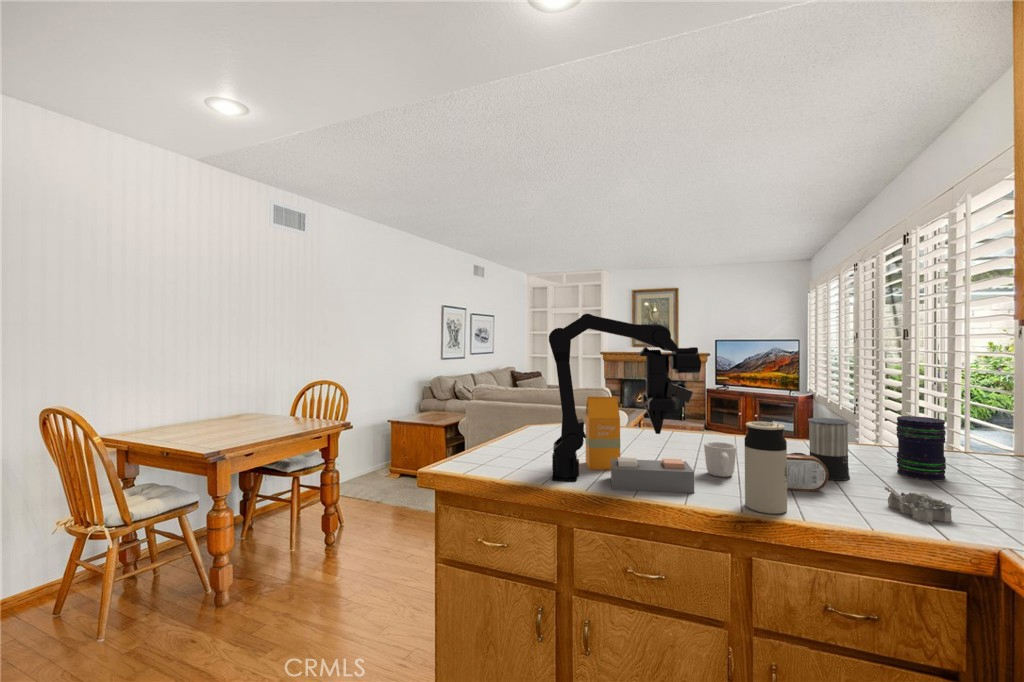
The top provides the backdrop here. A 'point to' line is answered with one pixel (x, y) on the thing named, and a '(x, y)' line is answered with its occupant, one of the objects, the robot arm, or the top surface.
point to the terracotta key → (672, 463)
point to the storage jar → (921, 447)
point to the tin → (805, 473)
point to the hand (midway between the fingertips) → (657, 433)
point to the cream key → (627, 462)
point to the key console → (652, 477)
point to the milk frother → (830, 445)
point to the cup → (720, 458)
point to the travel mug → (766, 468)
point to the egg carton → (920, 506)
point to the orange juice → (602, 432)
